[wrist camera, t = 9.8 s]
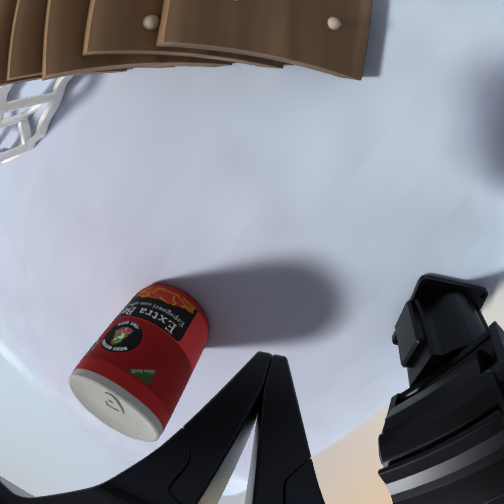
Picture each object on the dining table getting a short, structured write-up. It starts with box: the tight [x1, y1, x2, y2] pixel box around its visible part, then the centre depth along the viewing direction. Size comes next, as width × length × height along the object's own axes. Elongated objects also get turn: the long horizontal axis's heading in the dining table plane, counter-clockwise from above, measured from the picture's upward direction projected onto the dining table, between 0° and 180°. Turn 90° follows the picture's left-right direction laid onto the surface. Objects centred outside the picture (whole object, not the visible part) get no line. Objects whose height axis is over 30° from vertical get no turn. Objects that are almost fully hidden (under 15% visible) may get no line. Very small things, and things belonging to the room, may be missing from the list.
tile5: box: [0, 0, 127, 86], centre depth 11 cm, size 2×5×10 cm, turn 173°
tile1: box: [156, 0, 373, 80], centre depth 10 cm, size 2×5×10 cm
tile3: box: [42, 0, 232, 81], centre depth 10 cm, size 2×5×10 cm
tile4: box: [6, 0, 175, 81], centre depth 11 cm, size 2×5×10 cm, turn 173°
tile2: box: [82, 0, 284, 68], centre depth 10 cm, size 2×5×10 cm
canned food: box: [69, 284, 209, 442], centre depth 22 cm, size 8×8×11 cm
